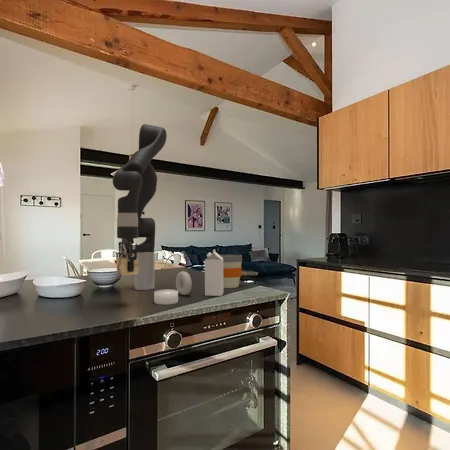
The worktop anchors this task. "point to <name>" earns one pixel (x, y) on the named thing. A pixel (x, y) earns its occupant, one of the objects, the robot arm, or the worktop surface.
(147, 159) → the robot arm
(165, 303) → the pedestal
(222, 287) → the milk carton
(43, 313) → the worktop surface
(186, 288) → the donut
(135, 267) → the maple cube
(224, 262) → the reusable coffee cup
